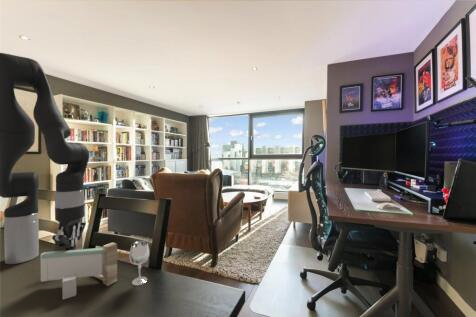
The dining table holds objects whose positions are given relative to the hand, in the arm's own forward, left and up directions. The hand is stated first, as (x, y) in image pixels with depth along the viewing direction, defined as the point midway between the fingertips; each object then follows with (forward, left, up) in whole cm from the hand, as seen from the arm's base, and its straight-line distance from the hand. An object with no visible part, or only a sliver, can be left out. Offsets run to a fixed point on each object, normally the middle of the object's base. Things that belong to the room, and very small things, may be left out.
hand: (70, 256), depth 69 cm
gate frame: (+3, +5, -7) cm, 9 cm away
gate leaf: (+5, 0, -5) cm, 7 cm away
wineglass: (+21, +10, -7) cm, 24 cm away
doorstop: (+9, -4, -7) cm, 12 cm away
